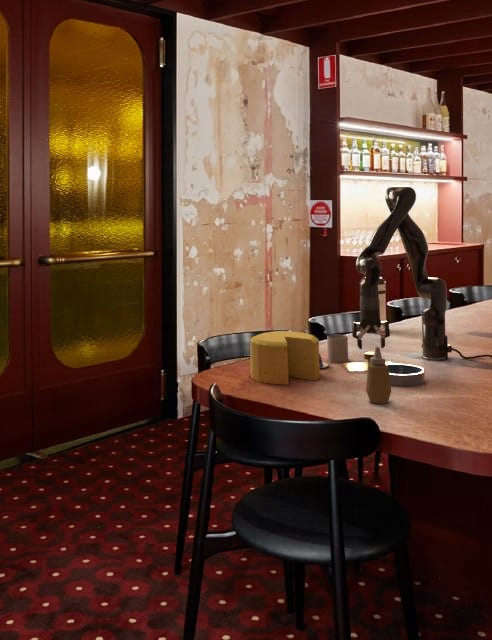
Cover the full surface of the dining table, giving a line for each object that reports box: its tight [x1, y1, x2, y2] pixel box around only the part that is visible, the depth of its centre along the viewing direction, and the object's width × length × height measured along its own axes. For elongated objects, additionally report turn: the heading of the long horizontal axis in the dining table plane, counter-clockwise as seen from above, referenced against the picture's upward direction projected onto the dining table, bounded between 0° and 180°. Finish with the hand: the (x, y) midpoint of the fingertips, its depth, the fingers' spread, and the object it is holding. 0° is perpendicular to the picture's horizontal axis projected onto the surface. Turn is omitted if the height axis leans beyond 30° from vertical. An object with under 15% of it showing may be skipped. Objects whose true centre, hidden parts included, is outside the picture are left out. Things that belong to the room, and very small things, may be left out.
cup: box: [326, 334, 349, 364], centre depth 299 cm, size 8×8×10 cm
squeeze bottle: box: [365, 346, 392, 405], centre depth 237 cm, size 8×8×18 cm
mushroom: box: [363, 351, 375, 365], centre depth 283 cm, size 5×5×5 cm
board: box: [342, 361, 395, 373], centre depth 283 cm, size 20×14×1 cm
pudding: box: [319, 353, 329, 370], centre depth 289 cm, size 12×12×5 cm
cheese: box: [249, 331, 320, 385], centre depth 275 cm, size 26×26×15 cm
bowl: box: [386, 363, 426, 387], centre depth 262 cm, size 17×17×5 cm
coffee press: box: [358, 276, 387, 335], centre depth 364 cm, size 17×16×30 cm
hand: (371, 348), depth 283 cm, fingers open, 8 cm apart
